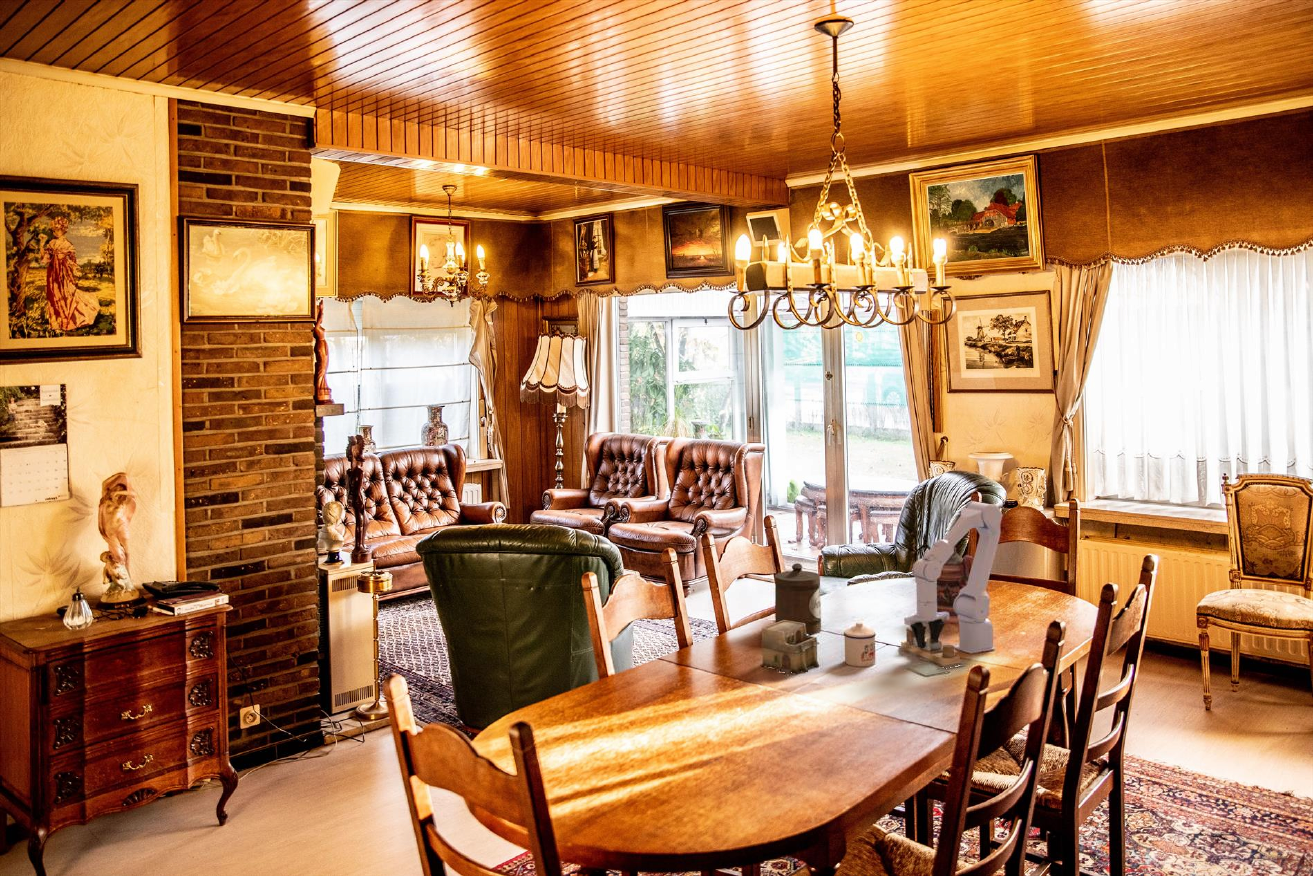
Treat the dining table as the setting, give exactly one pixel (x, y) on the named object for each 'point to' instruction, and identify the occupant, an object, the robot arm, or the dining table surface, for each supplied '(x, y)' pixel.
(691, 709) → the dining table surface
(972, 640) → the robot arm
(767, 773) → the dining table surface
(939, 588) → the beer stein
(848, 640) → the teacup with lid
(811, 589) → the wooden container
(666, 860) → the dining table surface
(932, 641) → the lever cap
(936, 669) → the felt pad
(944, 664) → the plane body
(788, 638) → the miniature house
